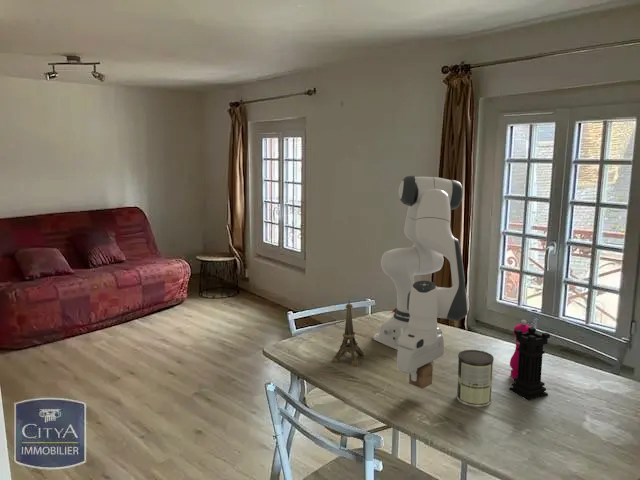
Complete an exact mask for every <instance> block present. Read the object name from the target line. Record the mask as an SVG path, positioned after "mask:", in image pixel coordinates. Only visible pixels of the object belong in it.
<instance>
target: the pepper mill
mask: <svg viewBox="0 0 640 480" xmlns="http://www.w3.org/2000/svg"><path fill="white" fill-rule="evenodd" d="M530 327H531V325H529V324H527V320H525V319H522V320H521V321H520V324H517V325H515V326H514V328H513V332H514V331H515V330H521V331H522V333H525V332H528V328H530ZM513 335H514V336H515V337H514V343H515V350H514V353H513V354H512V356H511V358H510V361H509V366H510V368H511V370H510V377H511V378H513V380H514V379H515V378H518V362H519V351H518V350H517V348H519V345H520V342H519V341H517V340H516V334H514V333H513Z"/></svg>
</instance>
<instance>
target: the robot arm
mask: <svg viewBox="0 0 640 480" xmlns="http://www.w3.org/2000/svg"><path fill="white" fill-rule="evenodd" d="M398 197H399V200H400V202H401V203H402V204H404V205H405V206H408V208H407V211H406V212H407V213H406V218H405V221H404V227H403V232H404V235H405V237H406V238H407V239H408V240H410V241H411V242H412V243H413V245H411V246H410V247H399V248H393V249H390V250H386V251H385V252H383V254H382V256H381V259H380V266H381V269H382V271H383V273H384V274H385V275H386V276H387V277H389V278H390V279H391V280H392V282H393V284H394V286H395V288H396V303H397V304H396V305H397V307H395V308H394V309H391V313H393V316H392V317H390V318H389V319H387V320H385V321H384V322H382V323H381V325H380V327H379V332H377V333H376V334H374V335H373V341H376V342H379V343H381V344H383V345H385V346H387V347H390V348H392V349H394V350H396V351H397V353H396V354H397V355H396V366H397V367H396V368H397V369H398V371H400V372H402V373H405V374H411V380H412V381H417V380H418V379H419V378H418V377H419V375H417V373H416V371H417V368H419V367H421V366H423V365H425V364H430V365H433V364H434V361H435V360H437V359H439V358H441V357H443V355H444V353H445V341H444V336H443V331H442V329H441V328H439V327H438V321H437V318H438V319H439V318H440V319H446V320H449V321H456V322H458V321H461V320H463V319H464V318H465V317H466V316H467V315H468V313H469V310H470V309H469V308H470V300H469V296H468V294H467V289H466V280H465V270H464V263H463V256H462V255H463V254H462V248H461V244H460V241H459V239H458V238H456V237H455V236H454V235H453V233H452V228H451V220H452V219H451V217H452V216H451V213H452V211H451V210H456V209H457V208H459V207H460V206H461V203H462V201H463V199H464V188H463V185H462V184H461V182H460V181H458V180H455V179H447V178H443V177H438V176H415V175H408V176H407V175H406V176H405V177H403V179H402V180H401V182H400V185H399V187H398ZM444 257H445V258H446V259H447V260H448V262H449V265H450V274H451V284H452V286H451V287H441V286H437V285H436V283H435V282H433V281H429V280H418V281H416V282H415V276H420V275H431V274H433V273H436V272H439V271H441V269H442V268H443V266H444V260H445V258H444Z"/></svg>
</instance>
